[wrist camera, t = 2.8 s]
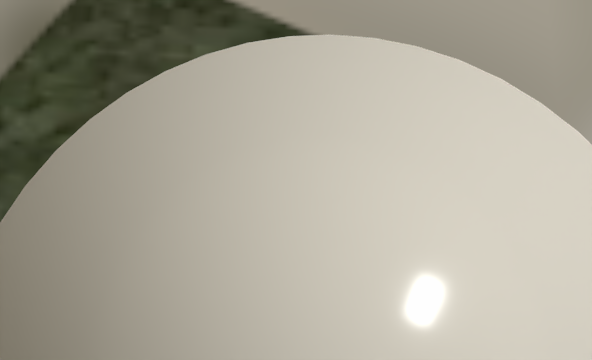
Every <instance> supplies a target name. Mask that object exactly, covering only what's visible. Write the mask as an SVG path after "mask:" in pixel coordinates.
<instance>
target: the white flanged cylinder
mask: <svg viewBox="0 0 592 360" xmlns="http://www.w3.org/2000/svg"><path fill="white" fill-rule="evenodd" d="M0 360H592V145H591V144H590V143H589V142H588V141H587V140H586V139H585V138H584V137H583V136H582V135H581V134H580V133H579V132H578V131H577V130H575V129H574V128H573V127H571V126H570V125H569V124H568V123H566V122H565V121H564V120H562V119H561V118H560V117H559V116H557V115H556V114H555V113H553V112H552V111H551V110H550V109H548V108H547V107H546V106H544V105H543V104H542V103H540V102H539V101H537V100H535V99H534V98H532V97H530V96H529V95H527V94H525V93H524V92H522V91H520V90H519V89H517V88H516V87H514V86H512V85H510V84H509V83H507V82H506V81H504V80H502V79H500V78H498V77H496V76H494V75H491V74H489V73H487V72H485V71H483V70H481V69H478V68H476V67H474V66H472V65H470V64H467V63H465V62H463V61H461V60H458V59H455V58H452V57H449V56H446V55H442V54H439V53H437V52H433V51H430V50H427V49H424V48H421V47H418V46H413V45H408V44H403V43H397V42H393V41H388V40H383V39H378V38H367V37H355V36H343V35H310V36H288V37H282V38H276V39H269V40H263V41H257V42H250V43H245V44H242V45H238V46H235V47H231V48H228V49H224V50H220V51H217V52H213V53H210V54H206V55H204V56H201V57H199V58H196V59H194V60H191V61H189V62H187V63H184V64H182V65H179V66H177V67H175V68H172V69H170V70H167V71H165V72H163V73H161V74H160V75H158V76H156V77H154V78H152V79H151V80H149V81H147V82H145V83H143V84H142V85H140V86H138V87H136V88H134V89H133V90H131V91H129V92H127V93H126V94H124V95H123V96H122V97H120V98H119V99H118V100H116V101H115V102H113V103H112V104H111V105H109V106H108V107H106V108H105V109H104V110H102V111H101V112H100V113H98V114H97V115H95V116H94V117H93V118H91V119H90V120H89V121H88V122H87V123H86V124H84V125H83V126H82V127H81V128H80V129H79V130H78V131H77V132H76V133H75V134H74V135H72V136H71V137H70V138H69V139H68V140H67V141H66V142H65V143H64V144H63V145H62V146H60V147H59V148H58V149H57V150H56V151H55V152H54V154H53V155H52V156H51V157H50V158H49V159H48V160H47V162H46V163H45V164H44V165H43V166H42V167H41V169H40V170H39V171H38V172H37V173H36V174H35V175H34V177H33V178H32V179H31V180H30V181H29V182H28V183H27V185H26V186H25V187H24V189H23V190H22V192H21V193H20V195H19V196H18V197H17V199H16V200H15V202H14V203H13V205H12V206H11V208H10V209H9V211H8V212H7V214H6V215H5V216H4V218H3V219H2V221H1V222H0Z"/></svg>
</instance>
